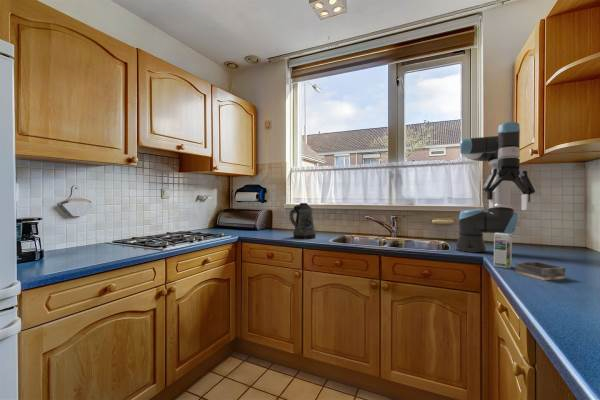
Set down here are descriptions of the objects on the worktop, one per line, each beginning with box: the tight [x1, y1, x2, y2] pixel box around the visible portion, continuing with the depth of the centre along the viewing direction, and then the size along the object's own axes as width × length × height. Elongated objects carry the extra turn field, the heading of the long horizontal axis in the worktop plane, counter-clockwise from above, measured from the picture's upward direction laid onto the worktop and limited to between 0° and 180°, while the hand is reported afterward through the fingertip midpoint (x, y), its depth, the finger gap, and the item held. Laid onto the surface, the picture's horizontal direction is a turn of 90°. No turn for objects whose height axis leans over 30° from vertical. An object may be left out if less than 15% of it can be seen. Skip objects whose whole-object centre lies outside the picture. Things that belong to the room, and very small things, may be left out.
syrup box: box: [493, 233, 513, 269], centre depth 125 cm, size 6×6×14 cm
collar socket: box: [514, 261, 566, 281], centre depth 110 cm, size 11×11×4 cm
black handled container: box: [289, 202, 317, 240], centre depth 207 cm, size 16×19×25 cm
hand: (508, 208), depth 120 cm, fingers open, 13 cm apart
